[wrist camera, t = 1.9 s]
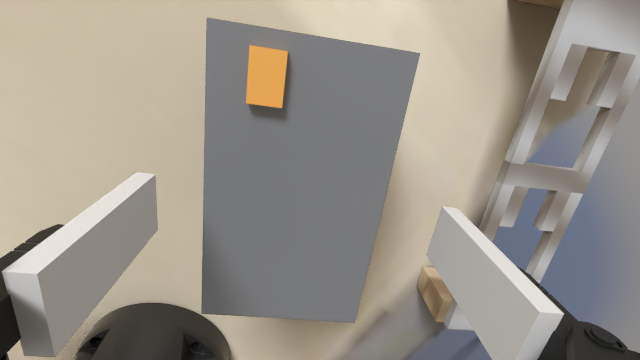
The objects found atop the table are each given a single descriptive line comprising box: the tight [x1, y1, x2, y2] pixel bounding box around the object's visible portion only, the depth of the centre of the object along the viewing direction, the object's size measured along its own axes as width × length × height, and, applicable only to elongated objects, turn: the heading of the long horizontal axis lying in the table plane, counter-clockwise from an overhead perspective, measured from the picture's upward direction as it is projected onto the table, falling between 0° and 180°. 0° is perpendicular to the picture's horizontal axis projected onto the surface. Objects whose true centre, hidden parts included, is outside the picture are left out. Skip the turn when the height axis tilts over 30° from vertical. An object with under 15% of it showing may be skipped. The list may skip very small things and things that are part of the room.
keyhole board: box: [417, 0, 640, 330], centre depth 27 cm, size 30×8×6 cm, turn 172°
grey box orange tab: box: [202, 18, 420, 323], centre depth 22 cm, size 16×9×12 cm, turn 172°
